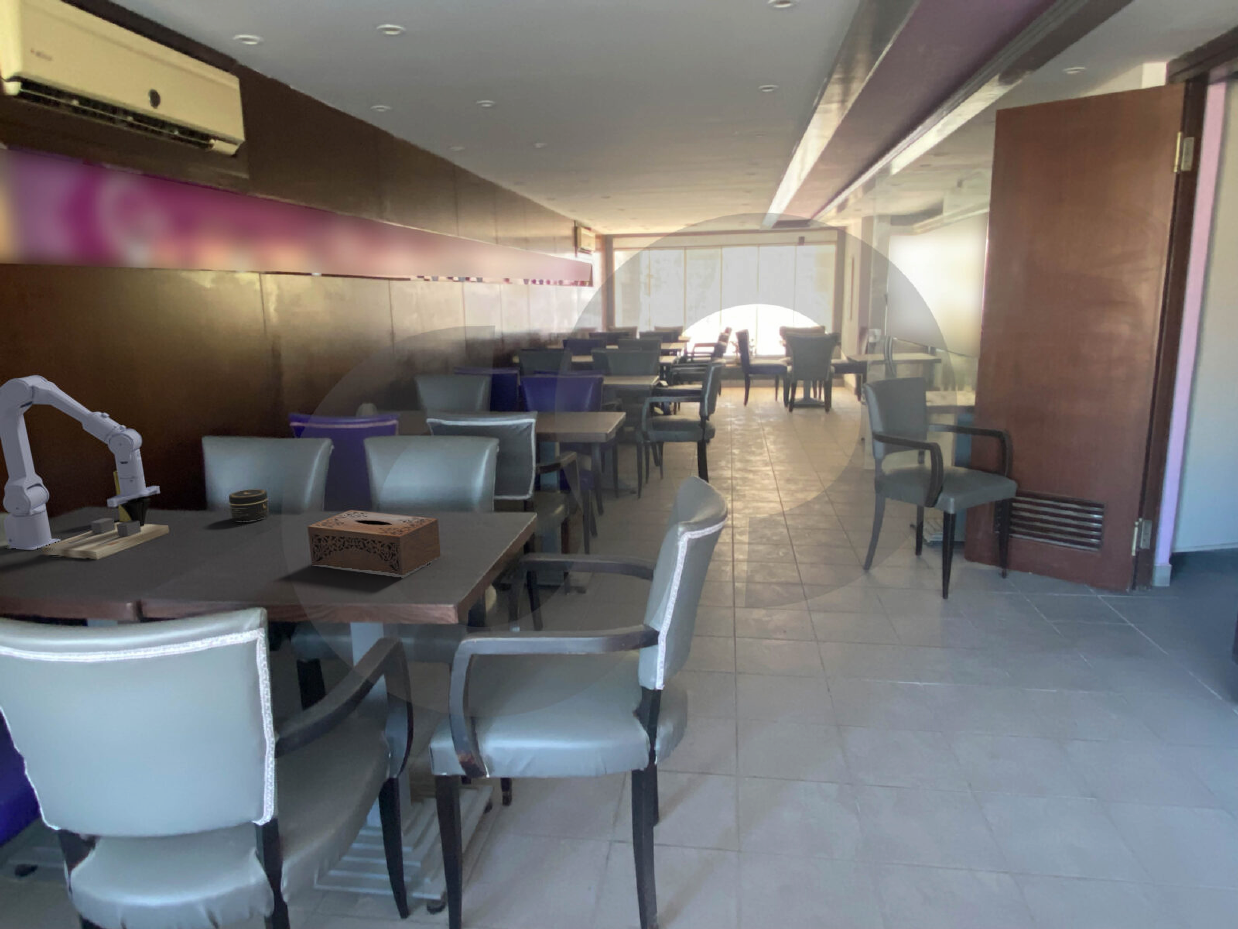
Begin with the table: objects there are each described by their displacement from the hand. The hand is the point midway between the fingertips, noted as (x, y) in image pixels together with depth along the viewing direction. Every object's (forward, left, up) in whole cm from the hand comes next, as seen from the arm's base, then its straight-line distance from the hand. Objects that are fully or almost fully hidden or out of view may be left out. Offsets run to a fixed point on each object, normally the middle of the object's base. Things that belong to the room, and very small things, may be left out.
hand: (139, 526), depth 208 cm
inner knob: (-9, -3, -1) cm, 9 cm away
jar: (+17, +21, -3) cm, 27 cm away
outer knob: (0, -3, -1) cm, 3 cm away
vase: (-18, +14, -3) cm, 23 cm away
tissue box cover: (+74, -5, -4) cm, 74 cm away
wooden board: (-4, -6, -3) cm, 8 cm away
